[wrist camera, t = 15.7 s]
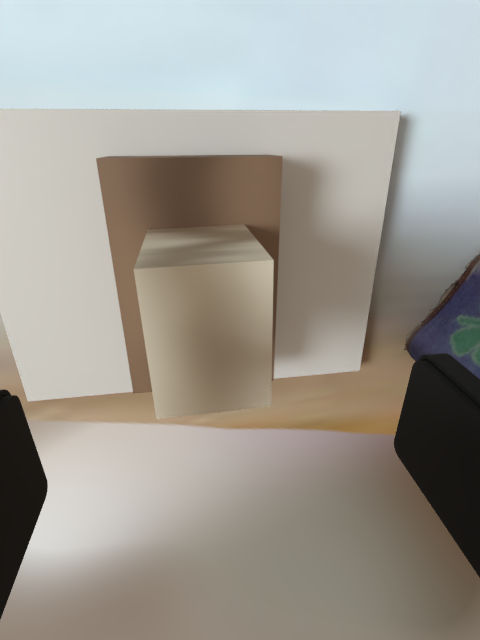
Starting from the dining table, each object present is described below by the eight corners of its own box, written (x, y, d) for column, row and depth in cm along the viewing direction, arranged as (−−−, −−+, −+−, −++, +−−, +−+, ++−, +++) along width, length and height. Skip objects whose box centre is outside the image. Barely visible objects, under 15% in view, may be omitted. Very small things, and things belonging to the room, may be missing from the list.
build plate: (388, 113, 20) (400, 111, 19) (352, 361, 27) (359, 370, 26) (-49, 110, 17) (-64, 108, 16) (34, 390, 24) (28, 401, 23)
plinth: (267, 154, 19) (282, 156, 16) (262, 354, 24) (273, 380, 22) (108, 156, 18) (95, 158, 15) (138, 364, 23) (133, 393, 21)
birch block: (244, 224, 18) (273, 259, 12) (246, 336, 20) (271, 406, 15) (147, 229, 17) (133, 269, 12) (162, 344, 20) (156, 419, 14)
